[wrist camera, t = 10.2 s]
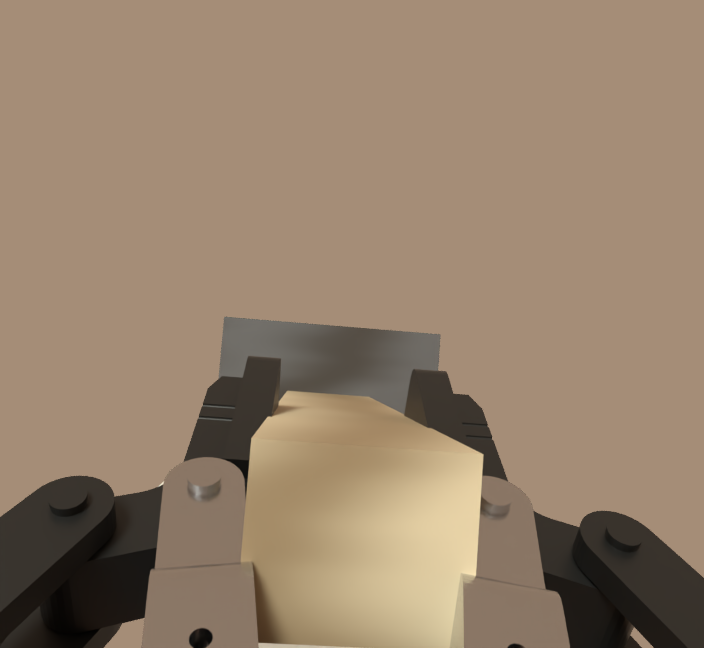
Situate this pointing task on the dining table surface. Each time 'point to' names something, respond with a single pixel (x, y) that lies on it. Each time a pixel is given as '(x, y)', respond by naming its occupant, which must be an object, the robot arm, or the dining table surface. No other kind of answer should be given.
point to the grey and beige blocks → (352, 491)
